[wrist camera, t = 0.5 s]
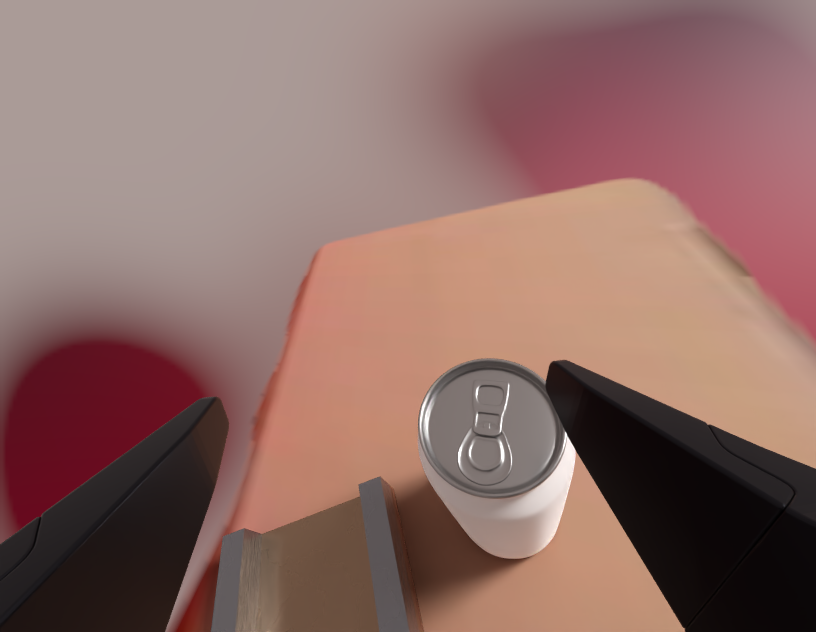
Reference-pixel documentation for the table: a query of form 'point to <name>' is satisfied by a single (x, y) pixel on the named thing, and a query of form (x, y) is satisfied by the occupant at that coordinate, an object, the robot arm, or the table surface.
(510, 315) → the table surface
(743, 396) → the table surface
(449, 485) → the can
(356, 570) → the track
